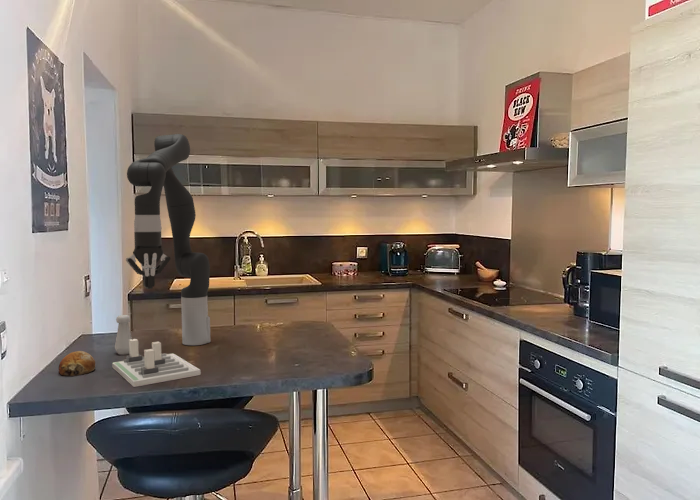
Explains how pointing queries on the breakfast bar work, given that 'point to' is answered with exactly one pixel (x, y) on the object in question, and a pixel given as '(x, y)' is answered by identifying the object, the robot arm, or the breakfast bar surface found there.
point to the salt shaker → (123, 335)
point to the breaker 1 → (133, 351)
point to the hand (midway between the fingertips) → (149, 288)
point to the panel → (166, 372)
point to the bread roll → (76, 364)
